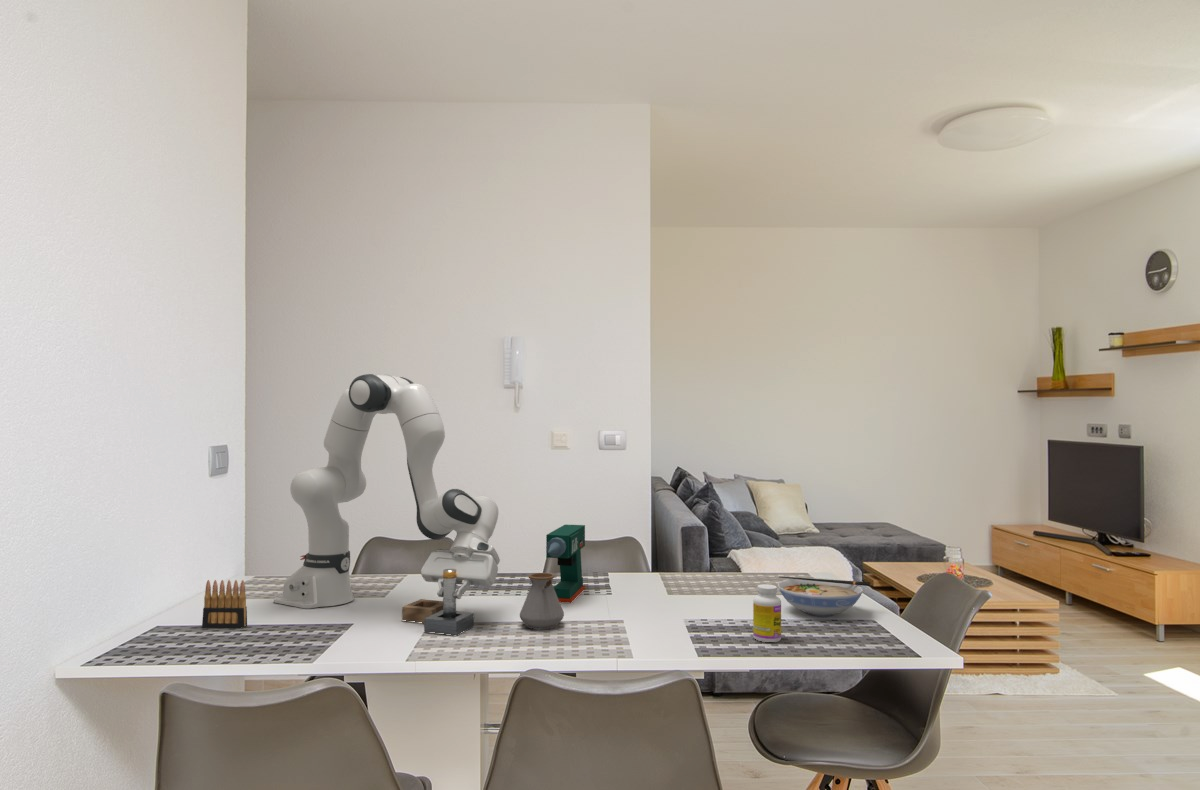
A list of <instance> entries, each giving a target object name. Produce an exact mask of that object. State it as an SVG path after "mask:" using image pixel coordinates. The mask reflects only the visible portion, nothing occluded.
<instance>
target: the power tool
mask: <svg viewBox="0 0 1200 790" xmlns="http://www.w3.org/2000/svg"><path fill="white" fill-rule="evenodd" d="M545 539H546V540H545V541H546V542H545V544H546V546H545V549H546V551H545V553H546V555H545V556H546V557H545V558H547V559H549V558H550V559H557V566H559V575H560V581H559V582H558V583H556V584H554V585H553V587H554V590H555V592H556V595H557V597H558V600H559V602H560V603H562V602H570V603H569V604H572V603H573V602H574V601H575V600H576V599H577V598H578V597H579V596H578V595H579V594H580V593H581V592H582V591H583V590H584V589H585V590H586V585H585V584H584V577H583V573H582V572H583V571H582V554H581V552H582V551H581V550H582V549H583V548H584V547H585V546H586V540H585V539H586V525H585V524H564V525H562V526H560V527H557V528H556V529H554V530H553V531H551V532H549V533H547V534H546V538H545ZM583 592H584V591H583ZM583 592H582V593H583ZM582 593H581V594H582ZM581 594H580V595H581ZM577 596H578V597H577ZM576 597H577V598H576ZM575 598H576V599H575ZM574 599H575V600H574ZM573 600H574V601H573ZM572 601H573V602H572ZM571 602H572V603H571Z"/></svg>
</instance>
